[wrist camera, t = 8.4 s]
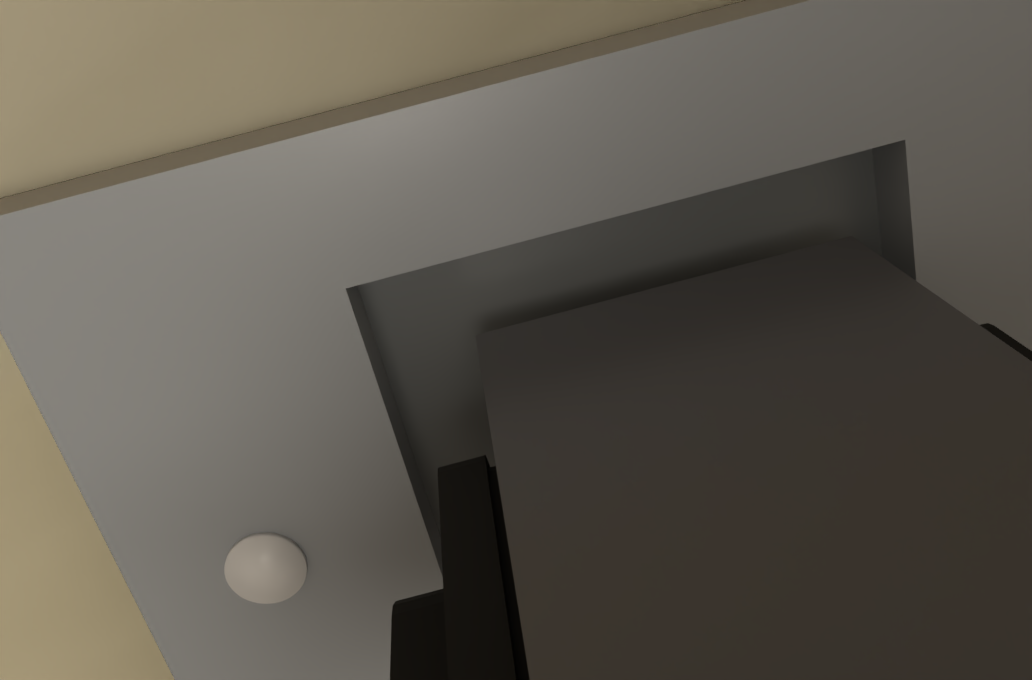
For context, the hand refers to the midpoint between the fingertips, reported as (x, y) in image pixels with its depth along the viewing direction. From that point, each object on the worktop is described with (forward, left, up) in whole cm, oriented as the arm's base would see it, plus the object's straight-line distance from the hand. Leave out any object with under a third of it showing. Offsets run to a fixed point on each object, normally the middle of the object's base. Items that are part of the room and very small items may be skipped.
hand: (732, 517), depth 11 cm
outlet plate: (0, 0, -3) cm, 3 cm away
